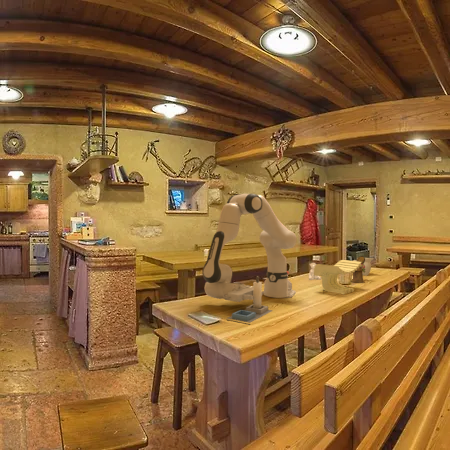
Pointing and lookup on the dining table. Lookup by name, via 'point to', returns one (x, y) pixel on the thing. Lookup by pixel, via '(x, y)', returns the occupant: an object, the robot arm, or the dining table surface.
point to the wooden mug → (358, 272)
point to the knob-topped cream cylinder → (257, 293)
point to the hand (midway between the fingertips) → (257, 295)
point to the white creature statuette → (311, 274)
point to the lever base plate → (249, 314)
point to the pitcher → (366, 266)
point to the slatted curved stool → (335, 275)
